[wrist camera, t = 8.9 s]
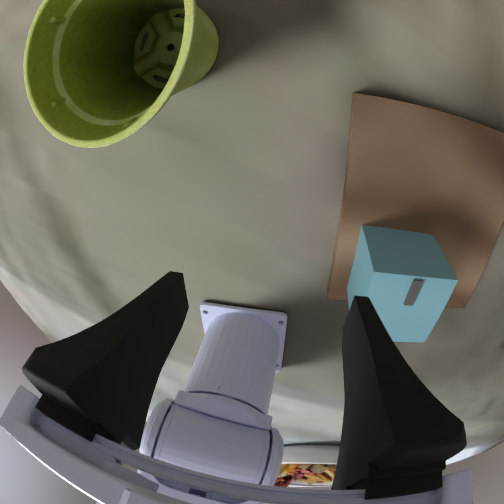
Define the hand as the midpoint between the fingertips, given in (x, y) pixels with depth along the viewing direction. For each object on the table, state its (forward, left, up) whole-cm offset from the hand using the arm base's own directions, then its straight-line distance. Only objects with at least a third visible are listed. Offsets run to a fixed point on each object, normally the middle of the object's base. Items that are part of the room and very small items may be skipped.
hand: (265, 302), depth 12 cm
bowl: (-59, -12, -10) cm, 61 cm away
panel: (+1, -10, -9) cm, 14 cm away
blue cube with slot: (-3, -8, -8) cm, 12 cm away
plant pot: (+11, +7, -10) cm, 16 cm away
